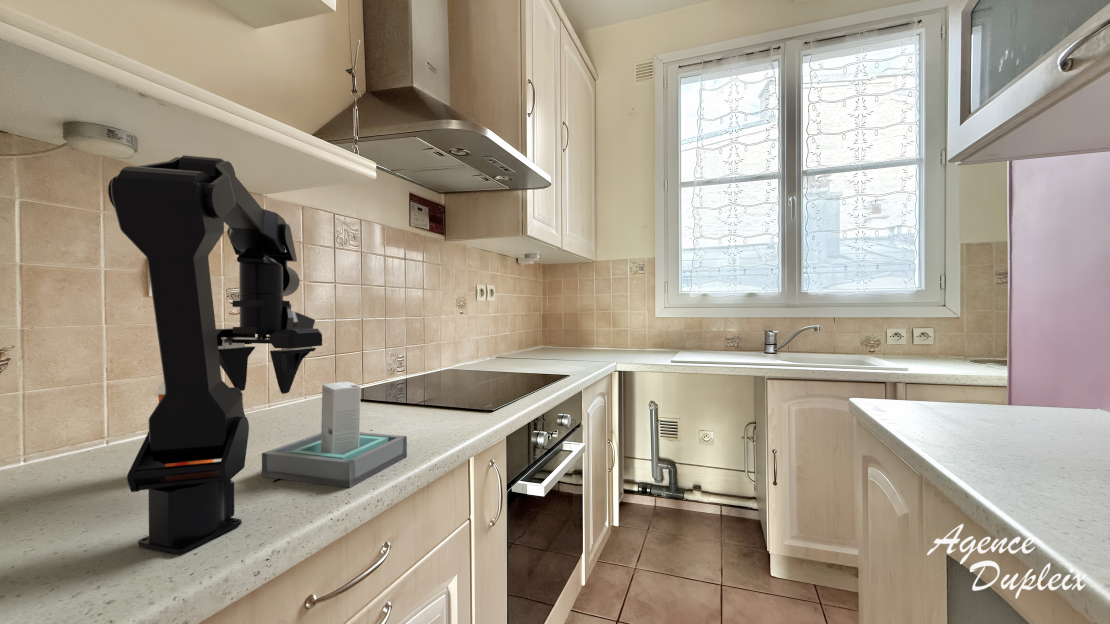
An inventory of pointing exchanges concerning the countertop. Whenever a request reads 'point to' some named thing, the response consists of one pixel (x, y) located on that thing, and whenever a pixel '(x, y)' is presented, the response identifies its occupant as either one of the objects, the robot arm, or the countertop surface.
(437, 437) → the countertop surface
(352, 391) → the skincare box
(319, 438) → the crate
